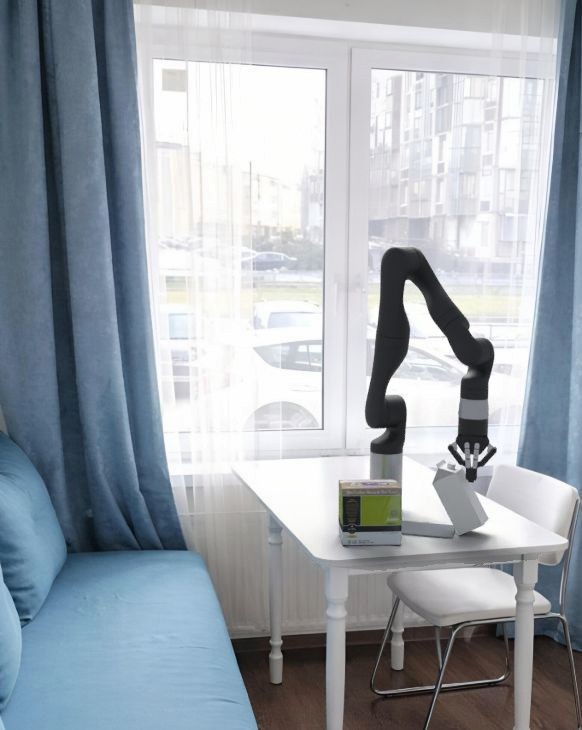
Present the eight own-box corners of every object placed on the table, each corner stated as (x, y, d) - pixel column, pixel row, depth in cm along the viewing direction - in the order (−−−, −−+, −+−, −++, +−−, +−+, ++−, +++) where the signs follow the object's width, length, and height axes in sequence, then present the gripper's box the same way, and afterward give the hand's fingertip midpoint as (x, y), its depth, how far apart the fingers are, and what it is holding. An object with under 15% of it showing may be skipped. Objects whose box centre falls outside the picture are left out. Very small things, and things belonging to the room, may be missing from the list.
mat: (385, 520, 227) (385, 519, 226) (455, 526, 222) (455, 525, 221) (378, 532, 216) (378, 530, 216) (452, 538, 211) (452, 537, 211)
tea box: (395, 534, 215) (396, 478, 213) (401, 546, 205) (403, 487, 204) (337, 534, 214) (338, 478, 213) (341, 546, 204) (342, 487, 203)
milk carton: (458, 536, 213) (424, 469, 215) (465, 529, 220) (432, 464, 222) (483, 526, 210) (448, 458, 212) (489, 519, 216) (455, 453, 219)
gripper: (500, 414, 214) (497, 480, 216) (448, 412, 217) (446, 476, 219) (499, 419, 207) (497, 487, 209) (446, 416, 210) (443, 483, 212)
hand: (470, 481), depth 214 cm, fingers closed
